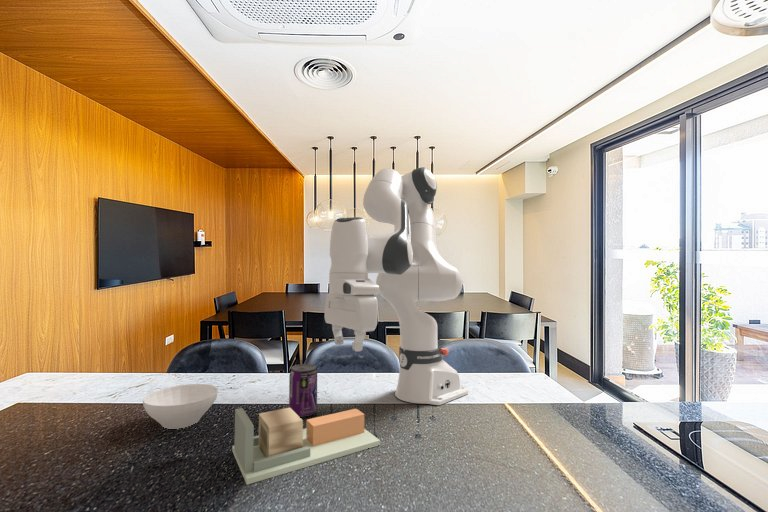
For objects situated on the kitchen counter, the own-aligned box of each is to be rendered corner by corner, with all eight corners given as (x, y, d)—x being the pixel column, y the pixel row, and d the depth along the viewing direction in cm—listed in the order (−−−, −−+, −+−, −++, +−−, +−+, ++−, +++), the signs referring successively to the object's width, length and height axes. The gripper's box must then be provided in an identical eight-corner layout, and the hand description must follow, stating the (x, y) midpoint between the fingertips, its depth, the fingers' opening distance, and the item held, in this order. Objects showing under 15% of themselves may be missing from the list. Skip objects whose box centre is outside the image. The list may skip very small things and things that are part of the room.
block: (289, 438, 77) (290, 407, 78) (302, 454, 71) (302, 420, 71) (258, 445, 74) (258, 413, 74) (268, 463, 67) (269, 427, 67)
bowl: (228, 422, 88) (229, 393, 88) (153, 445, 76) (154, 411, 76) (203, 406, 99) (203, 380, 99) (133, 423, 87) (134, 394, 87)
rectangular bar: (355, 426, 84) (356, 408, 84) (364, 432, 80) (364, 414, 80) (306, 438, 77) (306, 419, 77) (313, 446, 74) (313, 426, 74)
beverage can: (310, 420, 89) (310, 371, 90) (283, 418, 91) (284, 369, 91) (321, 409, 96) (321, 364, 97) (296, 407, 98) (296, 362, 98)
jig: (350, 421, 88) (350, 384, 89) (379, 445, 77) (380, 401, 77) (232, 450, 74) (233, 406, 74) (246, 484, 62) (247, 431, 63)
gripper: (318, 285, 90) (317, 341, 89) (356, 286, 73) (355, 356, 72) (341, 285, 93) (340, 339, 92) (383, 286, 76) (382, 353, 75)
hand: (347, 347), depth 82 cm, fingers open, 8 cm apart
